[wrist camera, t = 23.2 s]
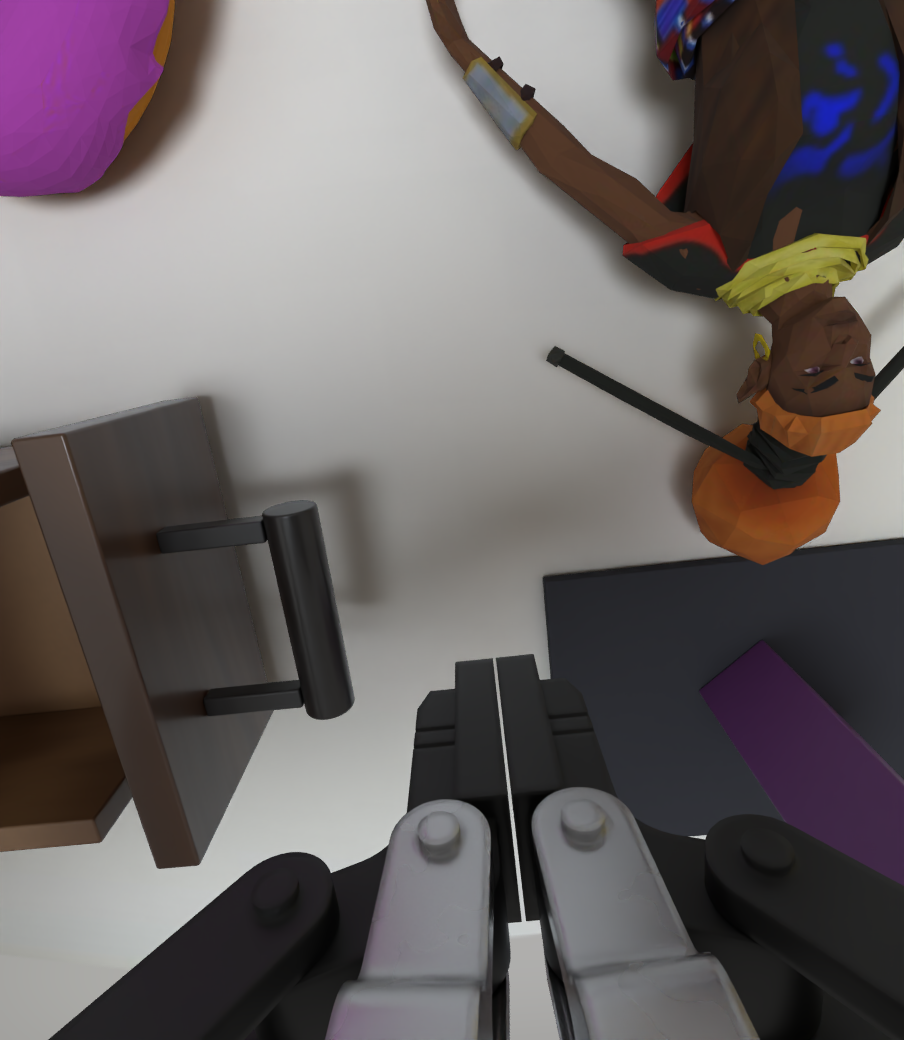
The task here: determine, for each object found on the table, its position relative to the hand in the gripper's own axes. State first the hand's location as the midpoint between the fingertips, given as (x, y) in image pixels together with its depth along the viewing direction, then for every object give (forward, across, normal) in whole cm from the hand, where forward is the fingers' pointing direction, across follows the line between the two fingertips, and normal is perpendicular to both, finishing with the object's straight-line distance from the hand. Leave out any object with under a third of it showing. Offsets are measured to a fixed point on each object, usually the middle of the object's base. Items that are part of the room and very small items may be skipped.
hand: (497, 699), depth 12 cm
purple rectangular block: (+10, -10, +8) cm, 16 cm away
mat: (+10, -10, +8) cm, 16 cm away
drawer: (+9, +13, 0) cm, 16 cm away
